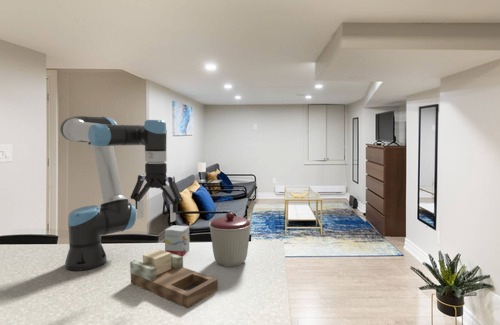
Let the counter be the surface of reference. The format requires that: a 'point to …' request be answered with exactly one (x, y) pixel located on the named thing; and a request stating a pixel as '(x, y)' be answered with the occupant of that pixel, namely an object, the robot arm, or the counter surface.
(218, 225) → the canister
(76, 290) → the counter surface
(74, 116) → the robot arm
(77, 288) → the counter surface
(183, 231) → the ink box
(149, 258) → the birch block
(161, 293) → the wooden compartment tray
